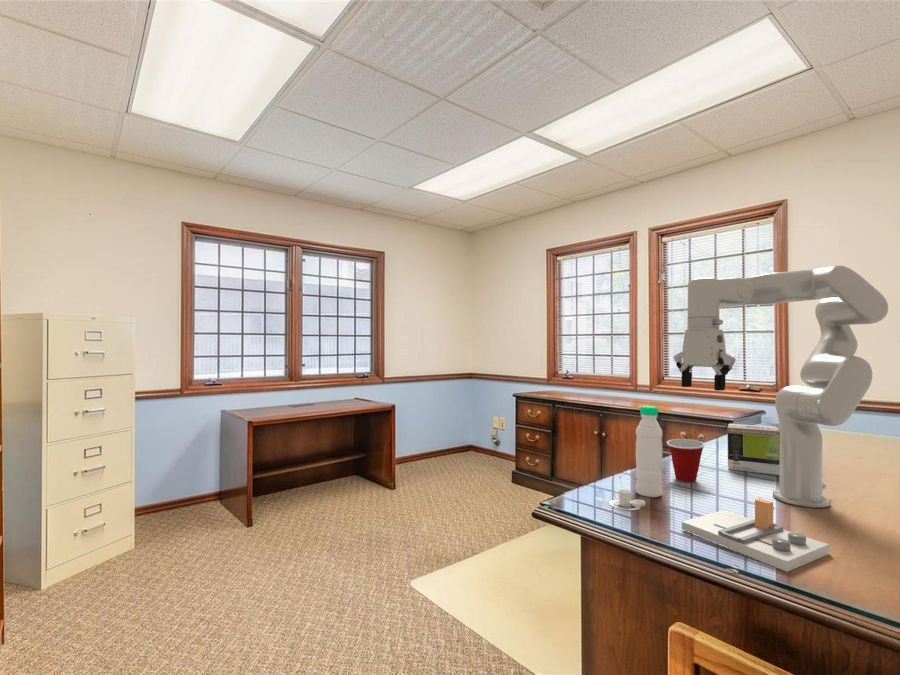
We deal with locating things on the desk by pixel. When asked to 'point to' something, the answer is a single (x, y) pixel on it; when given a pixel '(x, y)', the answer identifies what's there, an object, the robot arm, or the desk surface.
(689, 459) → the plastic cup
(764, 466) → the tea box
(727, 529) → the console
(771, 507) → the block
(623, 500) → the white ring with post
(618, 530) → the desk surface
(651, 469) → the water bottle
